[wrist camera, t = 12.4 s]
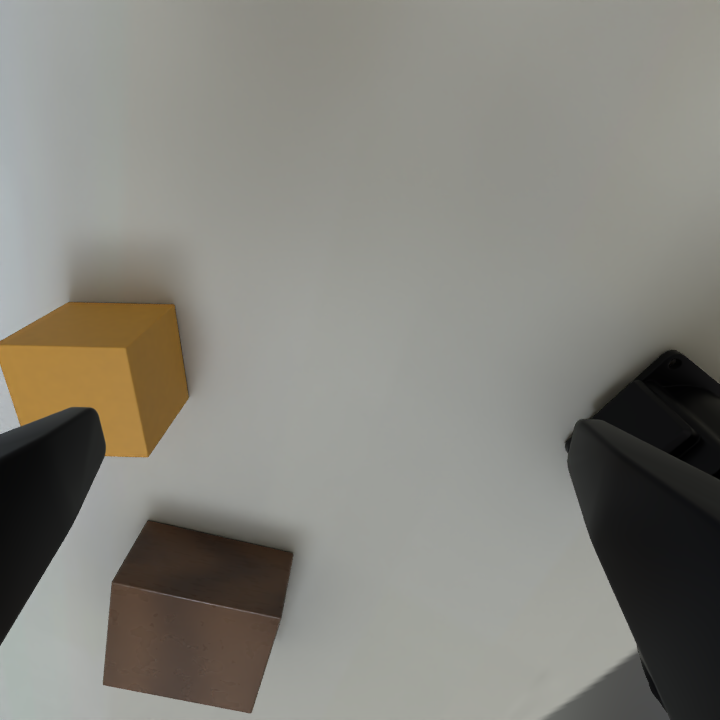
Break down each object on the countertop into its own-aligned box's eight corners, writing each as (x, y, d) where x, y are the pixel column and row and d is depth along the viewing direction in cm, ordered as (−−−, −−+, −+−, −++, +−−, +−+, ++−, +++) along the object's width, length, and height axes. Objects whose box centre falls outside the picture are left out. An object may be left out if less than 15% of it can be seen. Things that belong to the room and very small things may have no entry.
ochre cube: (174, 304, 21) (125, 347, 17) (189, 398, 23) (148, 457, 19) (67, 301, 21) (-7, 344, 17) (91, 395, 23) (29, 454, 19)
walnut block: (294, 552, 27) (281, 618, 23) (265, 644, 30) (251, 714, 27) (147, 519, 26) (111, 582, 23) (135, 617, 30) (102, 685, 26)
